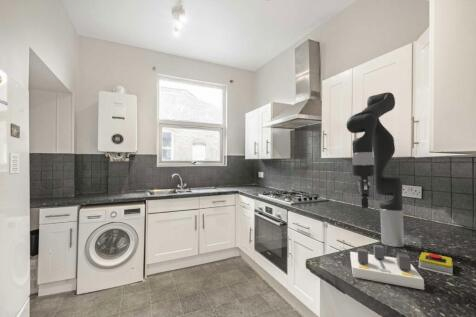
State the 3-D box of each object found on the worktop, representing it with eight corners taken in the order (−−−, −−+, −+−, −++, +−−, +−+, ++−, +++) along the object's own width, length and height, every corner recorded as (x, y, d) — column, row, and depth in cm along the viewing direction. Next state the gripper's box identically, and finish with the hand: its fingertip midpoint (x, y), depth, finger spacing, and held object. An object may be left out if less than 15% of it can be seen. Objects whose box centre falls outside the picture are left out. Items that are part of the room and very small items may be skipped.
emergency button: (417, 256, 81) (421, 247, 92) (418, 268, 81) (422, 258, 92) (452, 264, 75) (452, 253, 85) (452, 277, 74) (452, 264, 85)
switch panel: (350, 259, 89) (350, 251, 89) (407, 267, 81) (407, 259, 81) (353, 276, 73) (352, 267, 73) (424, 289, 65) (423, 279, 65)
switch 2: (373, 255, 84) (373, 244, 84) (383, 256, 82) (382, 245, 83) (374, 257, 81) (374, 246, 81) (384, 259, 80) (384, 248, 80)
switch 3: (397, 265, 74) (396, 253, 75) (408, 266, 73) (407, 254, 73) (399, 268, 72) (399, 256, 72) (410, 270, 70) (410, 257, 71)
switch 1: (357, 259, 79) (357, 248, 80) (367, 260, 78) (366, 249, 78) (358, 262, 77) (358, 250, 77) (368, 263, 75) (367, 252, 76)
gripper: (351, 164, 95) (353, 204, 94) (353, 164, 83) (355, 210, 82) (371, 164, 91) (373, 205, 90) (376, 163, 79) (378, 211, 78)
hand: (364, 207), depth 86 cm, fingers closed
